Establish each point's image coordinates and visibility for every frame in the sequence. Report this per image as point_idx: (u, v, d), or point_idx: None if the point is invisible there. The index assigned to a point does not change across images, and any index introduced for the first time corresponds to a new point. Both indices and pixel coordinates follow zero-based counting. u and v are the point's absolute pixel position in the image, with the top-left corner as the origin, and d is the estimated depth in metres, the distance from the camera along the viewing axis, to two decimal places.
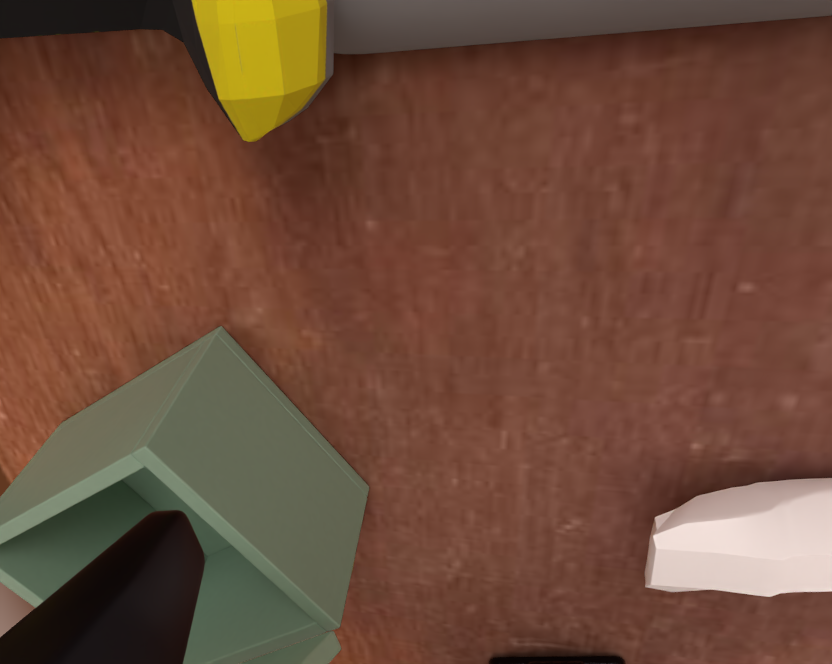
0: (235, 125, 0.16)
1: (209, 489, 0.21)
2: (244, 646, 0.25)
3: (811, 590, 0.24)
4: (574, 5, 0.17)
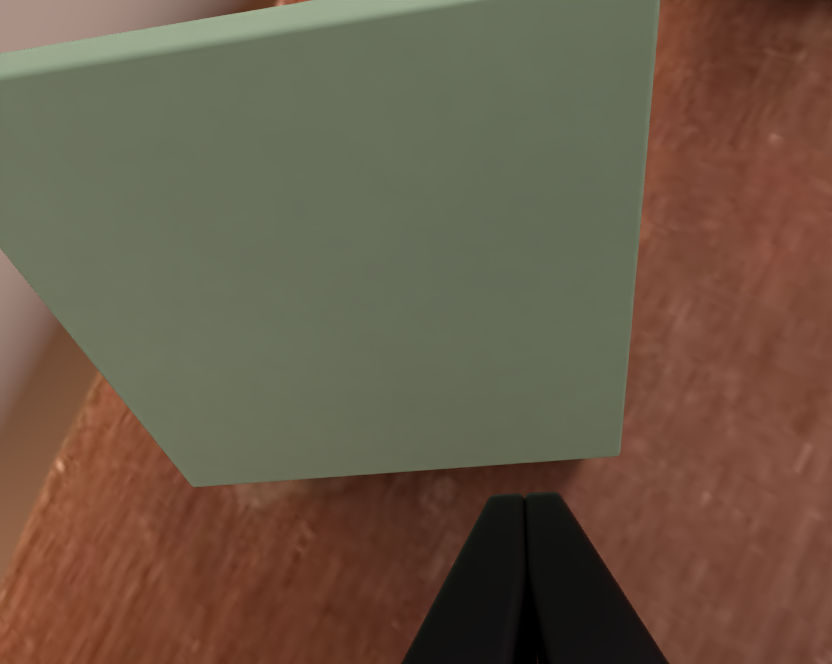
0: None
1: None
2: None
3: None
4: None
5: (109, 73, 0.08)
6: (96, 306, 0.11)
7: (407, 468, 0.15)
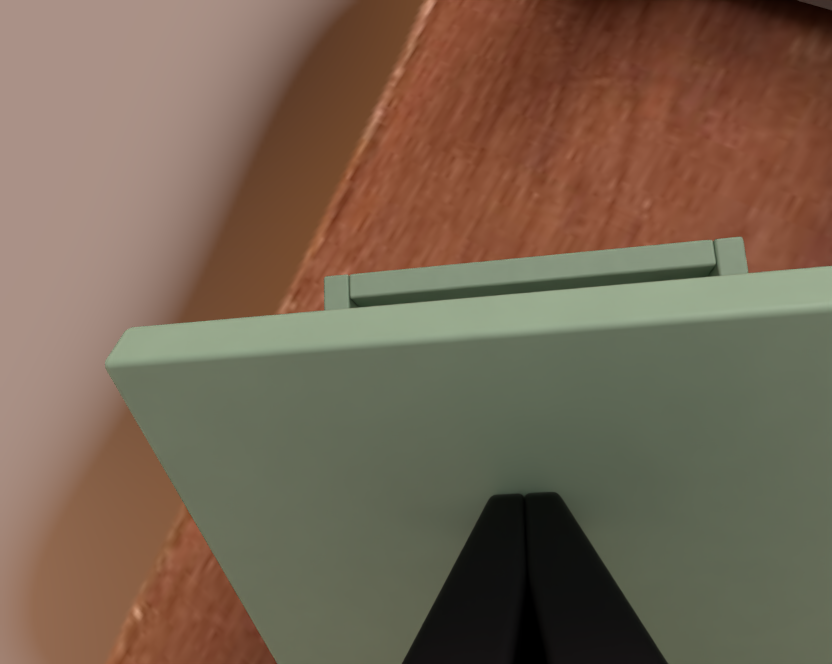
0: None
1: None
2: None
3: None
4: None
5: (364, 357, 0.07)
6: (271, 563, 0.10)
7: None
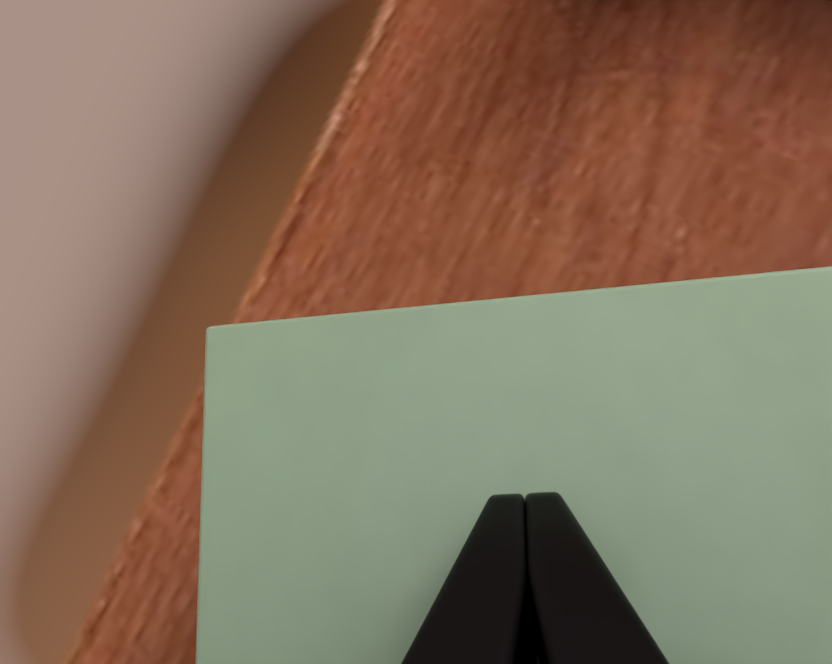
0: None
1: None
2: None
3: None
4: None
5: (397, 319, 0.10)
6: (252, 593, 0.09)
7: None
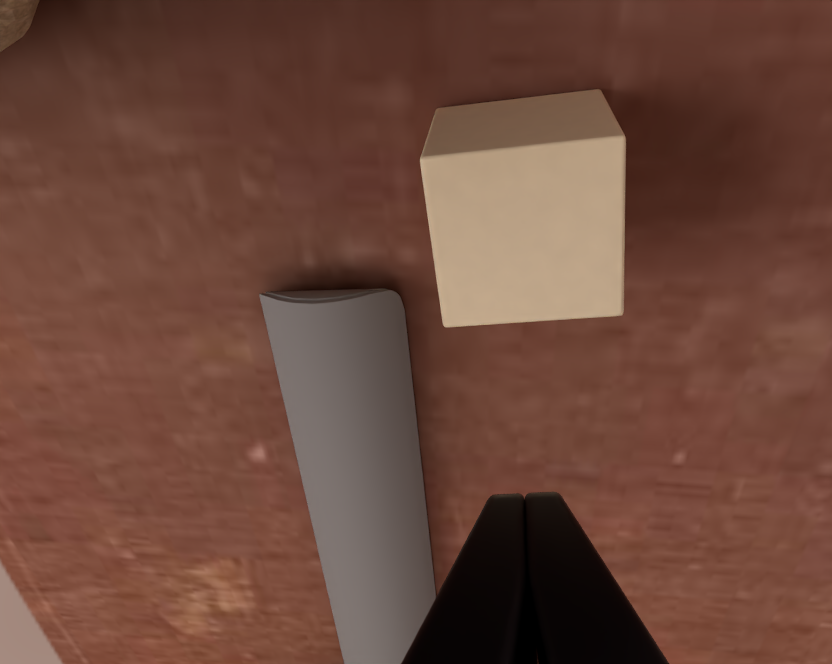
0: None
1: None
2: None
3: None
4: (404, 603, 0.25)
5: None
6: None
7: None
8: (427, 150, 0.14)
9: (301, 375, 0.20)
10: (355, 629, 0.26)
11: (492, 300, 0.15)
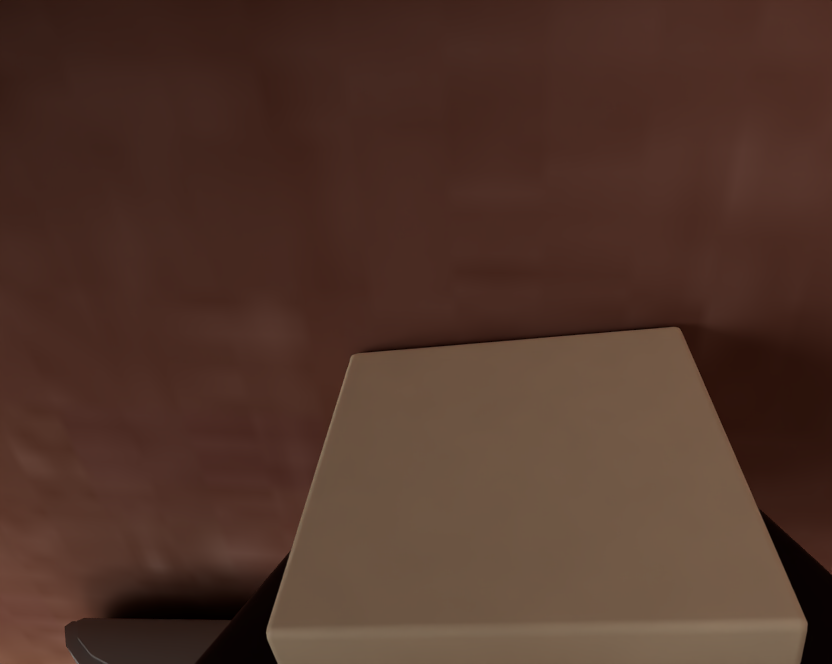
0: None
1: None
2: None
3: None
4: None
5: None
6: None
7: None
8: (290, 589, 0.06)
9: None
10: None
11: None
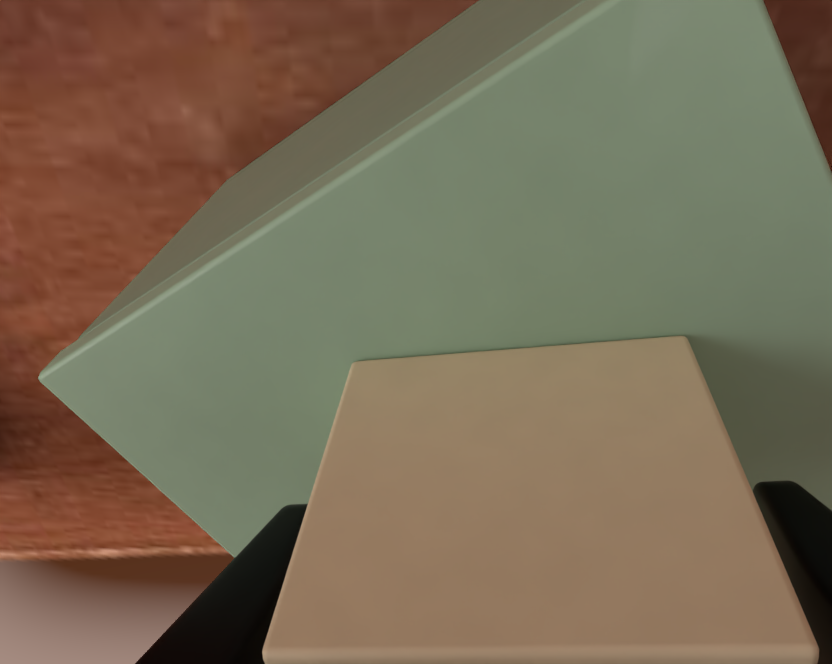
0: None
1: (210, 242, 0.09)
2: None
3: None
4: None
5: None
6: None
7: None
8: (287, 608, 0.06)
9: None
10: None
11: None
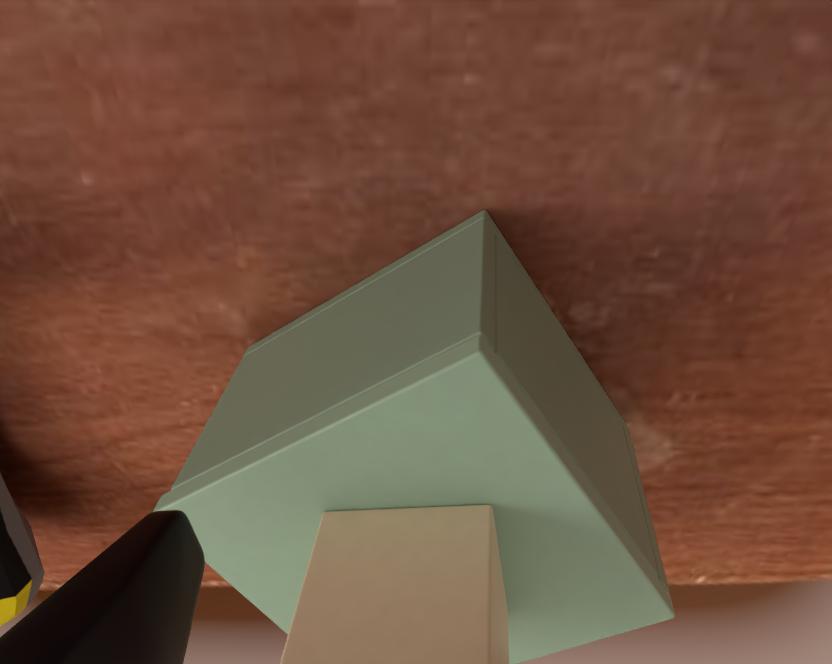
0: None
1: (246, 440, 0.17)
2: None
3: None
4: None
5: None
6: None
7: (577, 496, 0.15)
8: (289, 649, 0.13)
9: None
10: None
11: None
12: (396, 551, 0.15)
